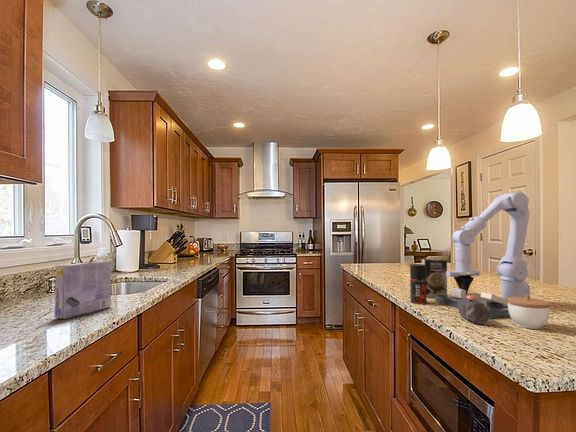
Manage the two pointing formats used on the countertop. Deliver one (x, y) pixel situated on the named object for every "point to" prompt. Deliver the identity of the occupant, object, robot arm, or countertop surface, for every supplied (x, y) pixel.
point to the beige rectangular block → (494, 298)
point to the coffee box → (435, 277)
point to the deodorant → (418, 283)
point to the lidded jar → (528, 311)
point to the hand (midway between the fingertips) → (463, 294)
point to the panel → (493, 308)
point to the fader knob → (458, 293)
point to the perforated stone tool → (473, 310)
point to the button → (472, 297)
